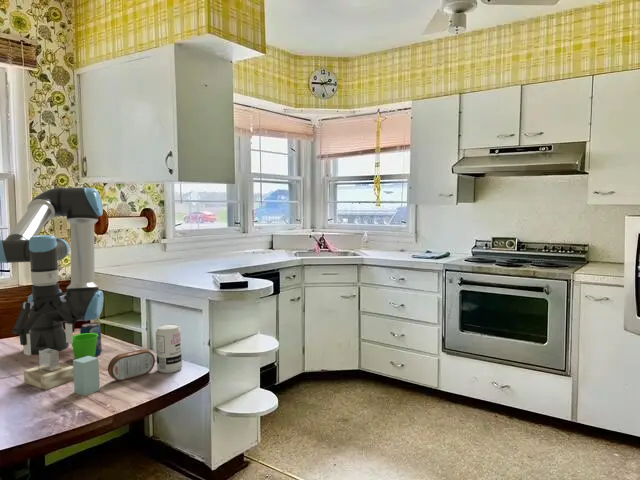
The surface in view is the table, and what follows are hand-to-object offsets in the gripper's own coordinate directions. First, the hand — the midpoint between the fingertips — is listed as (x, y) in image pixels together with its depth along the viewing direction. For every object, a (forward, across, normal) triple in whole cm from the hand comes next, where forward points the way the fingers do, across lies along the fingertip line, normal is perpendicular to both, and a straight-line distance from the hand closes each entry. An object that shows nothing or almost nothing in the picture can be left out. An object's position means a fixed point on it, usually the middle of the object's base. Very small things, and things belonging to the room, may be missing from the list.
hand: (49, 348), depth 150 cm
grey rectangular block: (+11, 0, 0) cm, 11 cm away
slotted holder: (+11, 0, 0) cm, 11 cm away
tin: (+11, +15, -21) cm, 28 cm away
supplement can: (+11, +26, -27) cm, 38 cm away
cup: (+11, +13, +2) cm, 17 cm away
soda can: (+11, +22, +12) cm, 27 cm away
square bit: (+10, 0, -19) cm, 22 cm away
